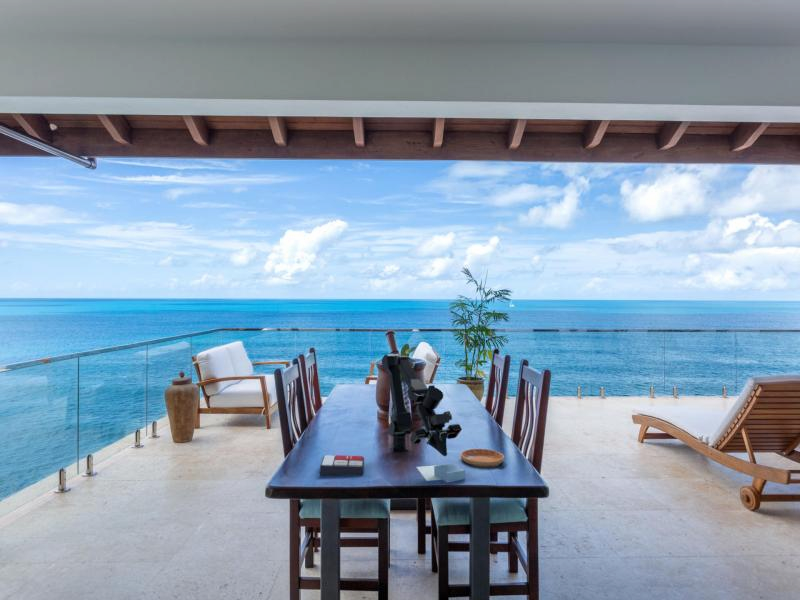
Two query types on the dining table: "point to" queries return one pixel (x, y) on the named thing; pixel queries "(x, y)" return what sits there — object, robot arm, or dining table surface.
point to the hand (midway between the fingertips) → (445, 455)
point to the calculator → (342, 465)
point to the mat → (428, 473)
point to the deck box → (449, 472)
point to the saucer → (482, 457)
